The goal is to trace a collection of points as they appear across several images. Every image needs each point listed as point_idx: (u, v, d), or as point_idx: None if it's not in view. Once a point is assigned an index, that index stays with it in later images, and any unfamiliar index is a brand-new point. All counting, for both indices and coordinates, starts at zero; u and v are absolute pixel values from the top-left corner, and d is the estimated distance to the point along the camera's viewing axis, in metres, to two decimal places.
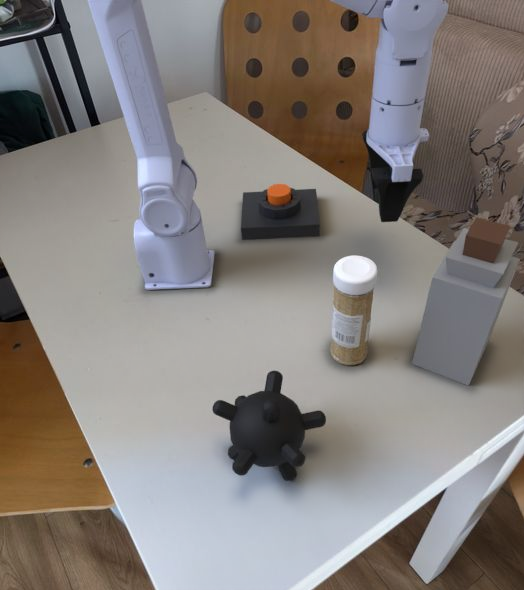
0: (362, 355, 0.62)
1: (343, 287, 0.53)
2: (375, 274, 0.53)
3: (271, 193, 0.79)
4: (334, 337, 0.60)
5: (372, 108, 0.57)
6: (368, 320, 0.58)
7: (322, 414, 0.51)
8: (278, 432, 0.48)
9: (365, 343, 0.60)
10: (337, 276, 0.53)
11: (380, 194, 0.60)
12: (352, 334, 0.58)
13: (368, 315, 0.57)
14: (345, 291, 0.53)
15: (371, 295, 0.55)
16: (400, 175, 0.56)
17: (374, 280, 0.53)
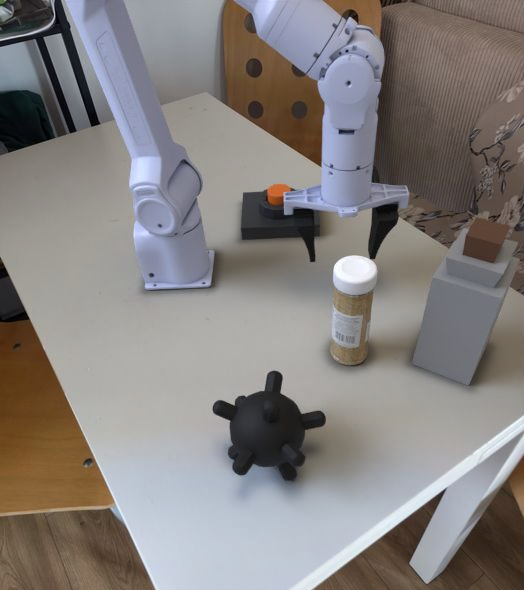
0: (362, 355, 0.62)
1: (343, 287, 0.53)
2: (375, 274, 0.53)
3: (271, 193, 0.79)
4: (334, 337, 0.60)
5: None
6: (368, 320, 0.58)
7: (322, 414, 0.51)
8: (278, 432, 0.48)
9: (365, 343, 0.60)
10: (337, 276, 0.53)
11: None
12: (352, 334, 0.58)
13: (368, 315, 0.57)
14: (345, 291, 0.53)
15: (371, 295, 0.55)
16: None
17: (374, 280, 0.53)
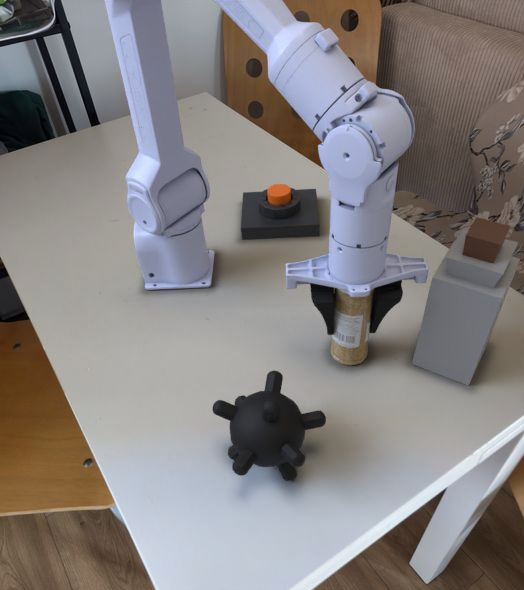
0: (362, 355, 0.62)
1: None
2: None
3: (271, 193, 0.79)
4: (334, 337, 0.60)
5: None
6: (368, 320, 0.58)
7: (322, 414, 0.51)
8: (278, 432, 0.48)
9: (365, 343, 0.60)
10: None
11: None
12: (352, 334, 0.58)
13: (368, 315, 0.57)
14: (346, 291, 0.53)
15: (371, 295, 0.55)
16: None
17: None
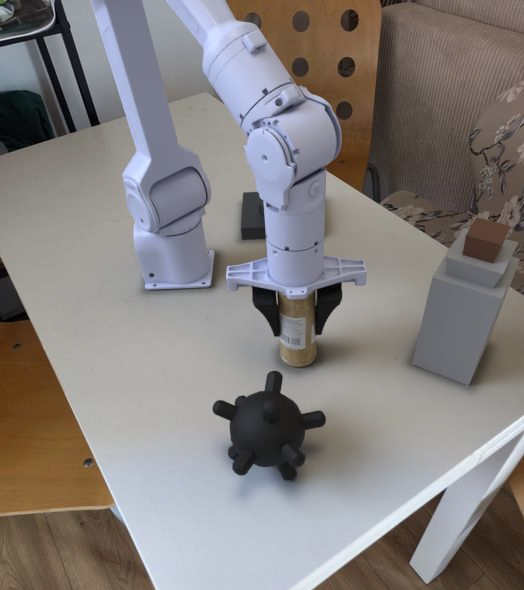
0: (310, 357, 0.62)
1: None
2: None
3: None
4: (281, 339, 0.60)
5: None
6: (312, 322, 0.58)
7: (322, 414, 0.51)
8: (278, 432, 0.48)
9: (312, 345, 0.61)
10: None
11: None
12: (297, 336, 0.58)
13: (312, 317, 0.57)
14: None
15: (313, 297, 0.55)
16: None
17: None
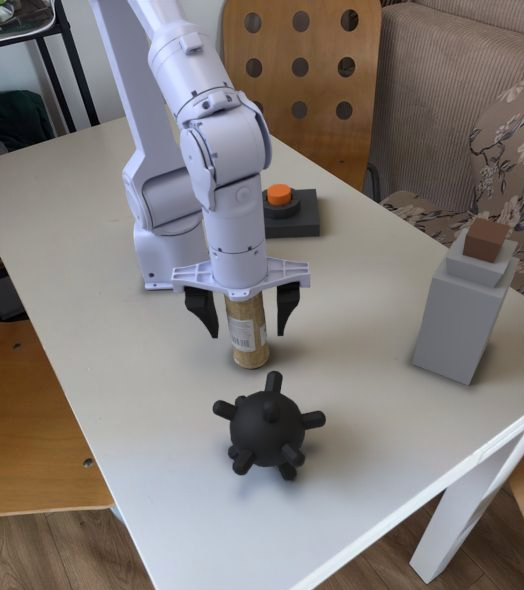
0: (262, 359, 0.62)
1: None
2: None
3: (271, 193, 0.79)
4: (232, 341, 0.61)
5: None
6: (261, 324, 0.58)
7: (322, 414, 0.51)
8: (278, 432, 0.48)
9: (263, 347, 0.61)
10: None
11: None
12: (245, 338, 0.59)
13: (259, 319, 0.57)
14: None
15: (259, 300, 0.56)
16: None
17: None
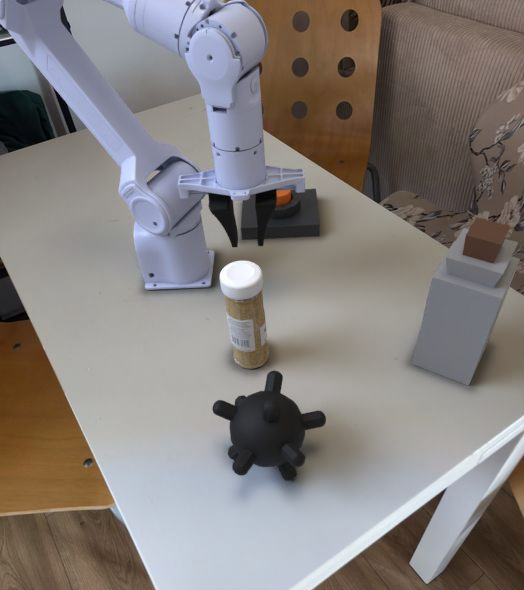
0: (262, 359, 0.62)
1: (227, 292, 0.54)
2: (258, 279, 0.54)
3: None
4: (232, 341, 0.61)
5: None
6: (261, 324, 0.58)
7: (322, 414, 0.51)
8: (278, 432, 0.48)
9: (263, 347, 0.61)
10: (221, 281, 0.54)
11: None
12: (245, 338, 0.59)
13: (259, 319, 0.57)
14: (230, 296, 0.54)
15: (259, 300, 0.56)
16: None
17: (258, 285, 0.54)
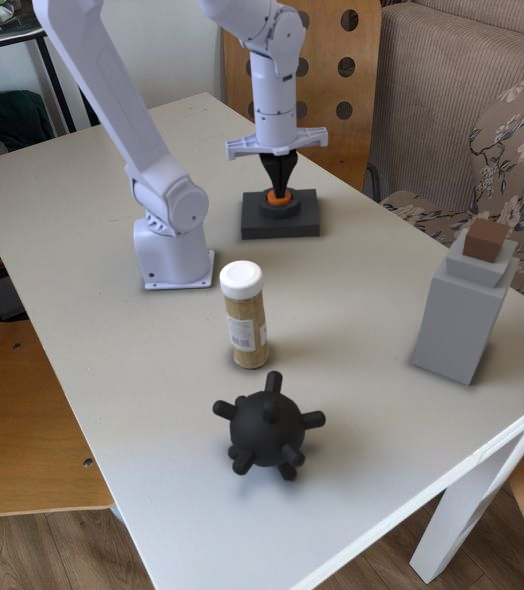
0: (262, 359, 0.62)
1: (227, 292, 0.54)
2: (258, 279, 0.54)
3: (272, 198, 0.79)
4: (232, 341, 0.61)
5: None
6: (261, 324, 0.58)
7: (322, 414, 0.51)
8: (278, 432, 0.48)
9: (263, 347, 0.61)
10: (221, 281, 0.54)
11: None
12: (245, 338, 0.59)
13: (259, 319, 0.57)
14: (230, 296, 0.54)
15: (259, 300, 0.56)
16: (226, 151, 0.74)
17: (258, 285, 0.54)
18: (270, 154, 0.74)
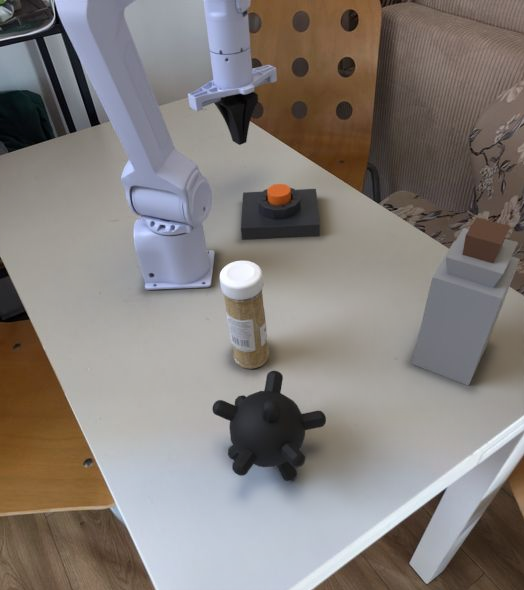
0: (262, 359, 0.62)
1: (227, 292, 0.54)
2: (258, 279, 0.54)
3: (271, 194, 0.79)
4: (232, 341, 0.61)
5: None
6: (261, 324, 0.58)
7: (322, 414, 0.51)
8: (278, 433, 0.48)
9: (263, 347, 0.61)
10: (221, 281, 0.54)
11: (220, 112, 0.79)
12: (245, 338, 0.59)
13: (259, 319, 0.57)
14: (230, 296, 0.54)
15: (259, 300, 0.56)
16: (191, 103, 0.73)
17: (258, 285, 0.54)
18: (231, 98, 0.76)
